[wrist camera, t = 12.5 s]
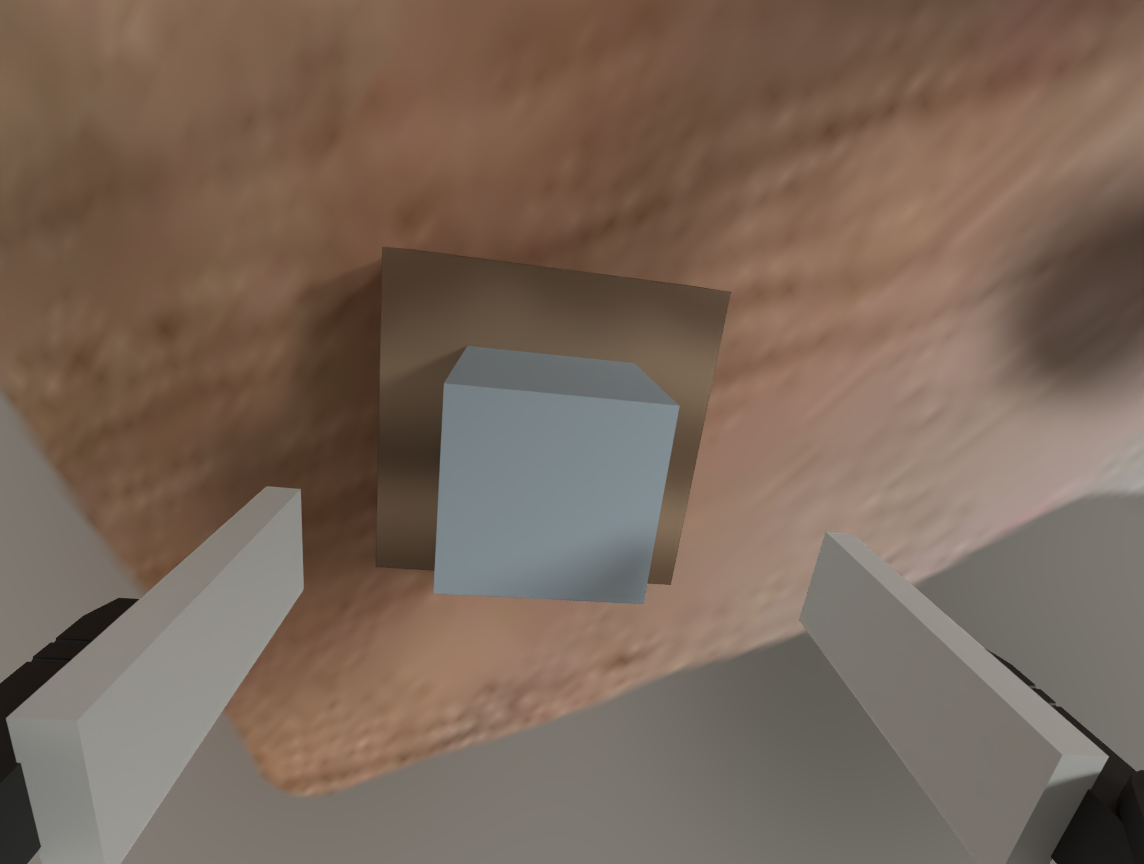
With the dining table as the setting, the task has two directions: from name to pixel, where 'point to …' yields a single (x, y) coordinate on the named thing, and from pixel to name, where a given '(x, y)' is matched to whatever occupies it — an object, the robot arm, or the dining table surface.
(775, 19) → the dining table surface
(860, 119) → the dining table surface
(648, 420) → the slate cube
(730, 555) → the dining table surface
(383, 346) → the walnut block
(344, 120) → the dining table surface
